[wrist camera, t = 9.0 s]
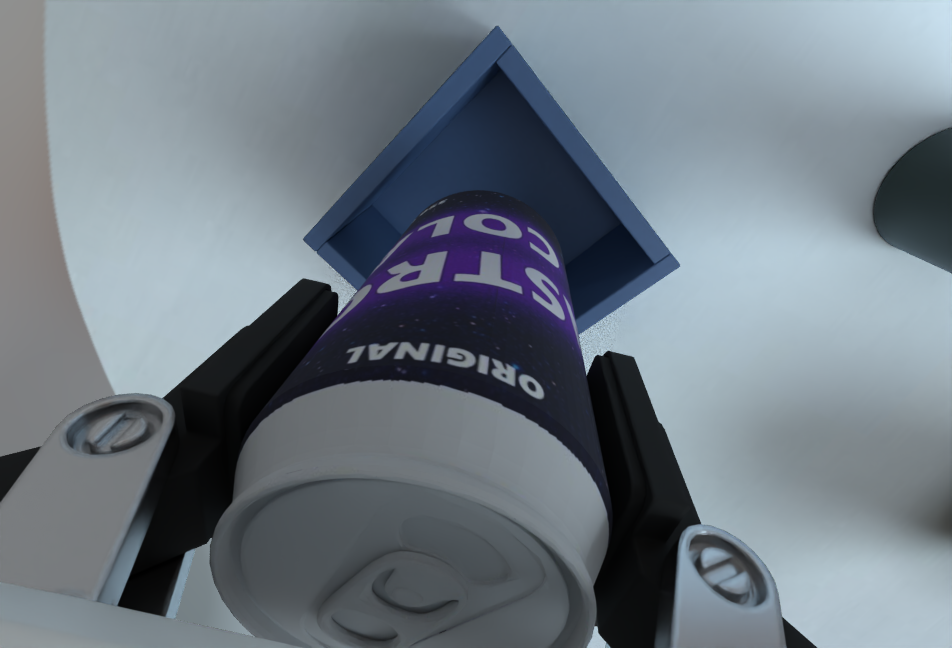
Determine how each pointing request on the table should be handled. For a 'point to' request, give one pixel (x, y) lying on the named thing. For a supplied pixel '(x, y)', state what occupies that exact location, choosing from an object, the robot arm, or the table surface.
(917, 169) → the wine bottle
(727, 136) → the table surface
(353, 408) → the beverage can
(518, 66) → the blue open box
